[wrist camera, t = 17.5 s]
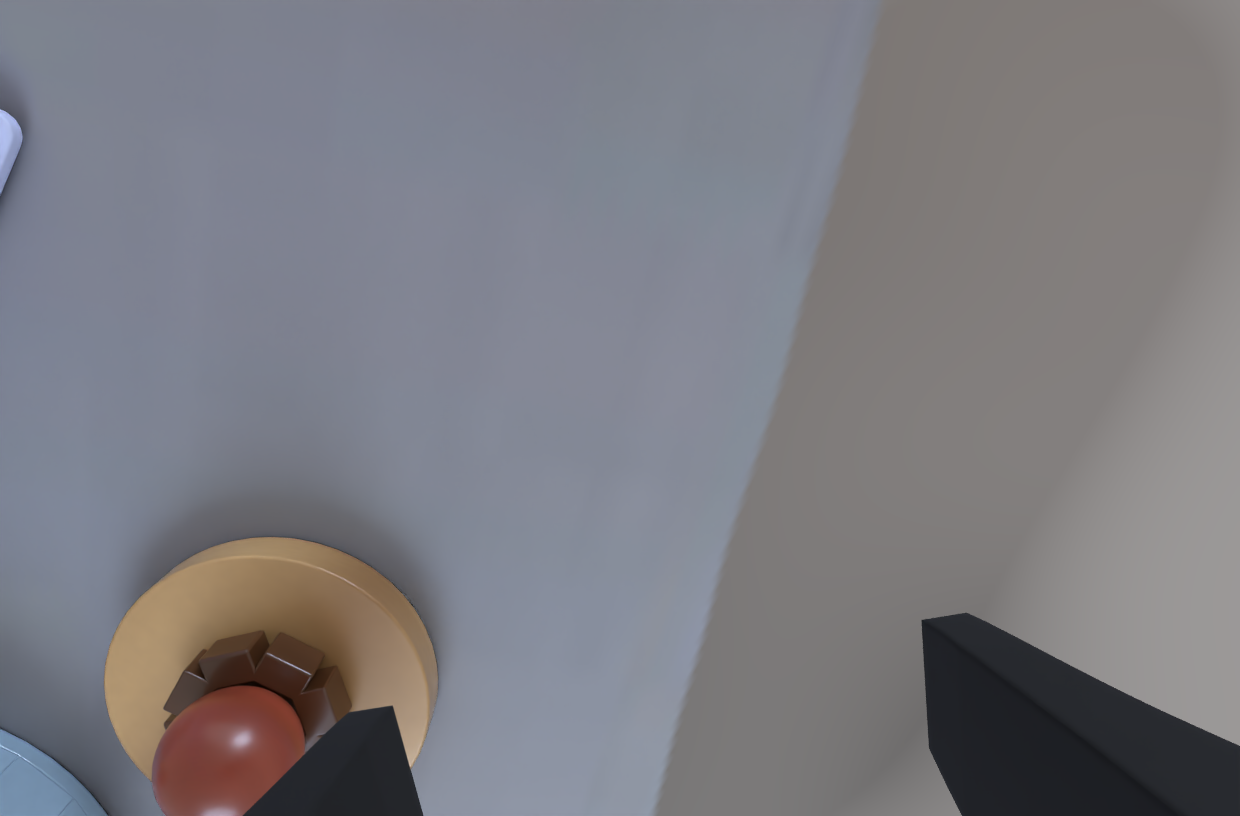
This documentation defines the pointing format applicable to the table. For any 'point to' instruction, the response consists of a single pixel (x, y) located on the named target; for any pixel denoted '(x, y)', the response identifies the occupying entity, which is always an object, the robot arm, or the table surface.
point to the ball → (225, 752)
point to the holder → (270, 642)
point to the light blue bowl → (39, 784)
